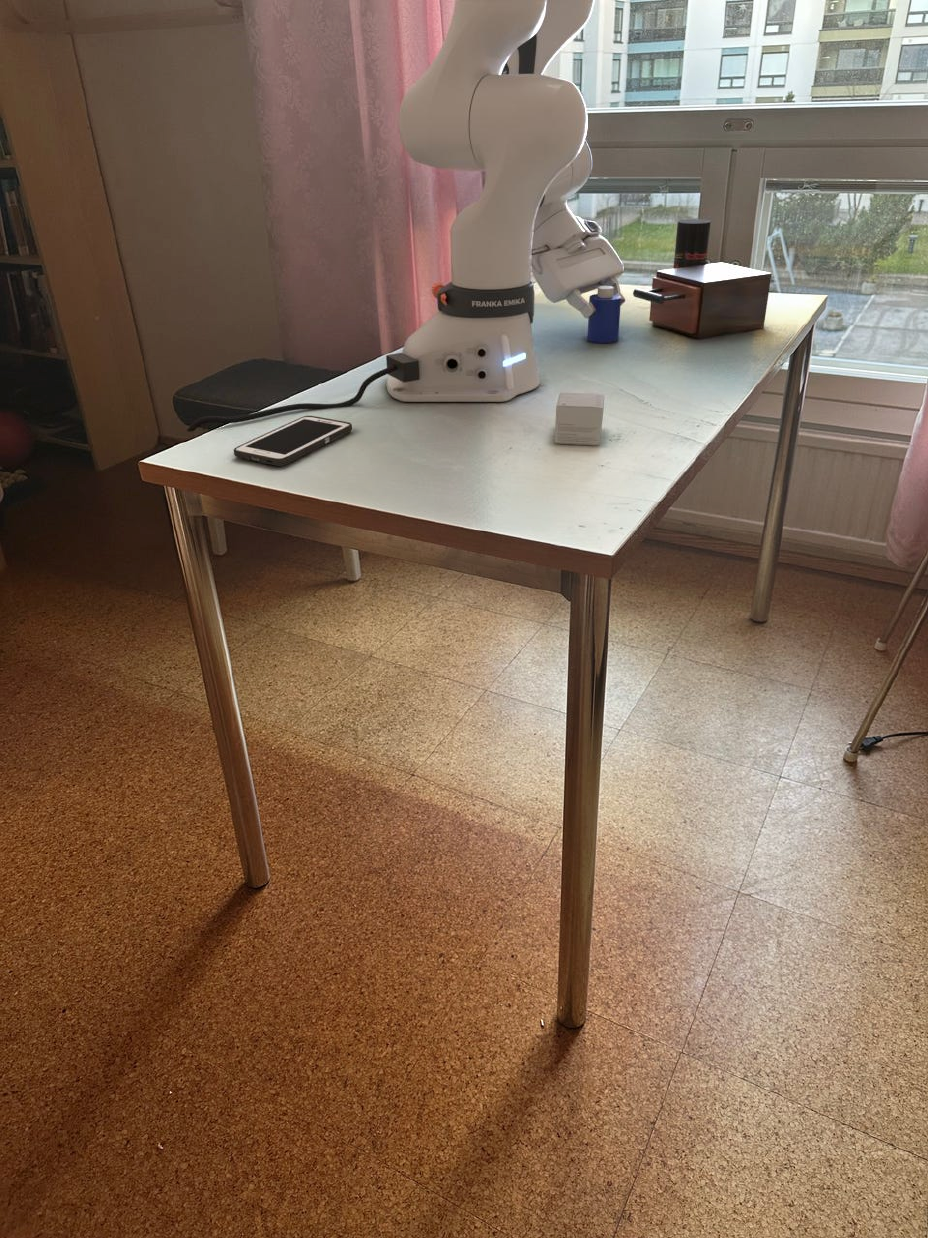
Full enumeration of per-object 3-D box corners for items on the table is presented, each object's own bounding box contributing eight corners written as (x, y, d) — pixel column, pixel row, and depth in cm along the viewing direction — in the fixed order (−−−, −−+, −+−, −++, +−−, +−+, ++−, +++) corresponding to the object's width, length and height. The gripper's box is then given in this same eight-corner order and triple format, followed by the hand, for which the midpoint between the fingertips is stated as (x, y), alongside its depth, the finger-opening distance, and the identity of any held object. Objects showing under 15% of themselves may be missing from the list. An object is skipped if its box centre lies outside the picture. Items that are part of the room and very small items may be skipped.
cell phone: (231, 457, 109) (229, 449, 109) (307, 421, 120) (306, 414, 120) (281, 468, 106) (280, 460, 105) (355, 430, 117) (354, 422, 116)
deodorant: (704, 308, 173) (713, 222, 166) (672, 308, 173) (680, 223, 166) (698, 301, 178) (706, 218, 171) (667, 301, 179) (675, 219, 171)
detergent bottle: (591, 343, 152) (594, 290, 148) (584, 336, 157) (586, 284, 152) (621, 342, 153) (625, 289, 148) (613, 334, 157) (616, 283, 153)
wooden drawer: (663, 338, 151) (668, 292, 147) (622, 324, 160) (625, 280, 156) (752, 323, 158) (758, 279, 155) (708, 311, 167) (713, 269, 163)
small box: (600, 446, 110) (603, 406, 108) (553, 444, 111) (554, 405, 109) (602, 430, 115) (605, 392, 113) (557, 428, 116) (558, 390, 114)
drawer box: (698, 338, 154) (704, 282, 149) (652, 324, 163) (656, 270, 159) (763, 327, 159) (771, 273, 155) (715, 314, 169) (721, 262, 164)
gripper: (535, 237, 143) (585, 309, 143) (602, 221, 157) (648, 286, 156) (511, 265, 148) (560, 334, 147) (579, 246, 161) (624, 310, 161)
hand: (606, 309), depth 152 cm, fingers open, 8 cm apart
